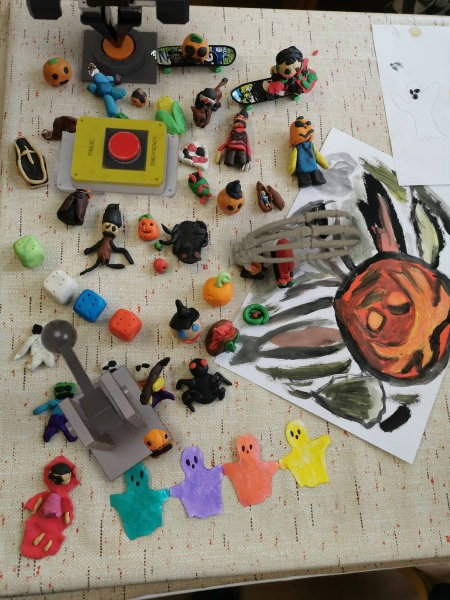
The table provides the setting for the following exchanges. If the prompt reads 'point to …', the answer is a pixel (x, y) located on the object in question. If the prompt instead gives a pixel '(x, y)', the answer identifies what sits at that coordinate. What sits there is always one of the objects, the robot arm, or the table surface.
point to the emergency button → (119, 157)
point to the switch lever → (80, 375)
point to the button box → (130, 69)
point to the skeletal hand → (249, 252)
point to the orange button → (119, 49)
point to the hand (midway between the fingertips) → (118, 45)
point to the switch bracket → (122, 437)
